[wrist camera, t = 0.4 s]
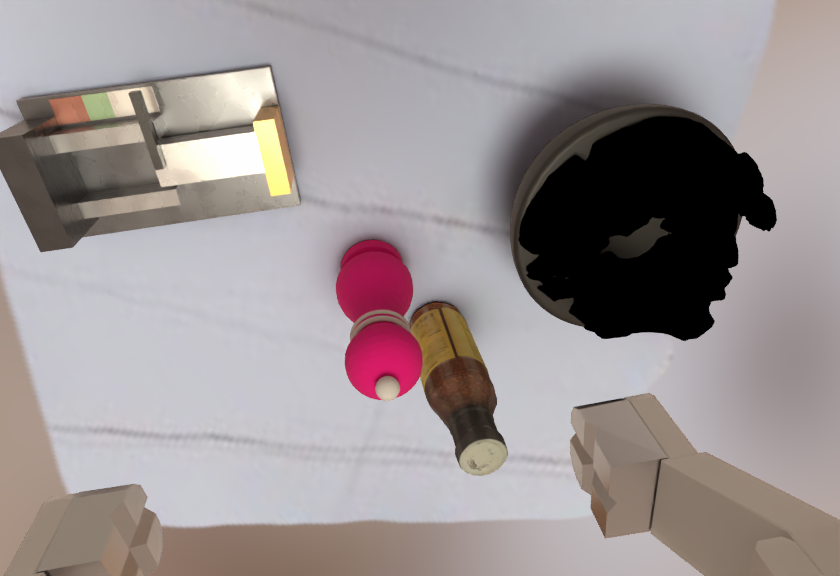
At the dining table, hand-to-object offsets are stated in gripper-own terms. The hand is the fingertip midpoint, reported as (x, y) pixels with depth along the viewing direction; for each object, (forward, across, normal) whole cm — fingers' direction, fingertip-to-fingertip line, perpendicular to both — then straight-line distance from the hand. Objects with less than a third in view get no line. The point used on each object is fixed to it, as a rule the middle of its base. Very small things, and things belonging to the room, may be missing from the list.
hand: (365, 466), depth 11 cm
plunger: (+43, +11, +3) cm, 44 cm away
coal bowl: (+44, -22, +13) cm, 51 cm away
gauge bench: (+44, +15, +4) cm, 47 cm away
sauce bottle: (+44, -6, +26) cm, 52 cm away
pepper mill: (+44, 0, +18) cm, 48 cm away
